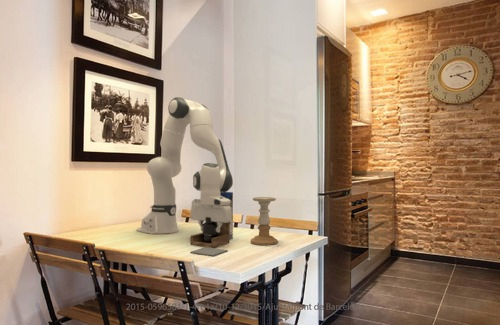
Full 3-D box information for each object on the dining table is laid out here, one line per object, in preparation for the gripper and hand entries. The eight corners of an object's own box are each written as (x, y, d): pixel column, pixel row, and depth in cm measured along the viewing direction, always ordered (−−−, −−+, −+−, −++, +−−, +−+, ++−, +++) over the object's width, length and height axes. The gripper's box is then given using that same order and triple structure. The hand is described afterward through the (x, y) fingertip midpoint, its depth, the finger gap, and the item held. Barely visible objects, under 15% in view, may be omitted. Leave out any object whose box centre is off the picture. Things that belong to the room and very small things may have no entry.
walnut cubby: (190, 245, 157) (190, 217, 158) (207, 240, 168) (207, 214, 168) (213, 248, 151) (213, 219, 151) (229, 243, 162) (229, 216, 162)
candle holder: (283, 242, 163) (283, 198, 164) (264, 246, 155) (264, 199, 155) (263, 238, 172) (263, 196, 172) (244, 242, 163) (245, 197, 164)
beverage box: (223, 240, 167) (223, 193, 167) (206, 237, 174) (206, 192, 174) (232, 238, 172) (233, 192, 173) (215, 235, 179) (216, 191, 179)
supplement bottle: (204, 246, 155) (205, 218, 155) (200, 243, 162) (200, 216, 162) (220, 244, 158) (220, 217, 158) (215, 241, 164) (215, 215, 164)
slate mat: (190, 253, 142) (190, 251, 142) (205, 248, 151) (205, 246, 151) (213, 256, 137) (213, 255, 137) (227, 251, 146) (227, 250, 146)
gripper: (187, 199, 163) (187, 230, 162) (225, 201, 152) (225, 234, 152) (196, 198, 168) (196, 228, 168) (233, 200, 158) (233, 232, 158)
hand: (210, 231), depth 160 cm, fingers closed on supplement bottle, 7 cm apart
